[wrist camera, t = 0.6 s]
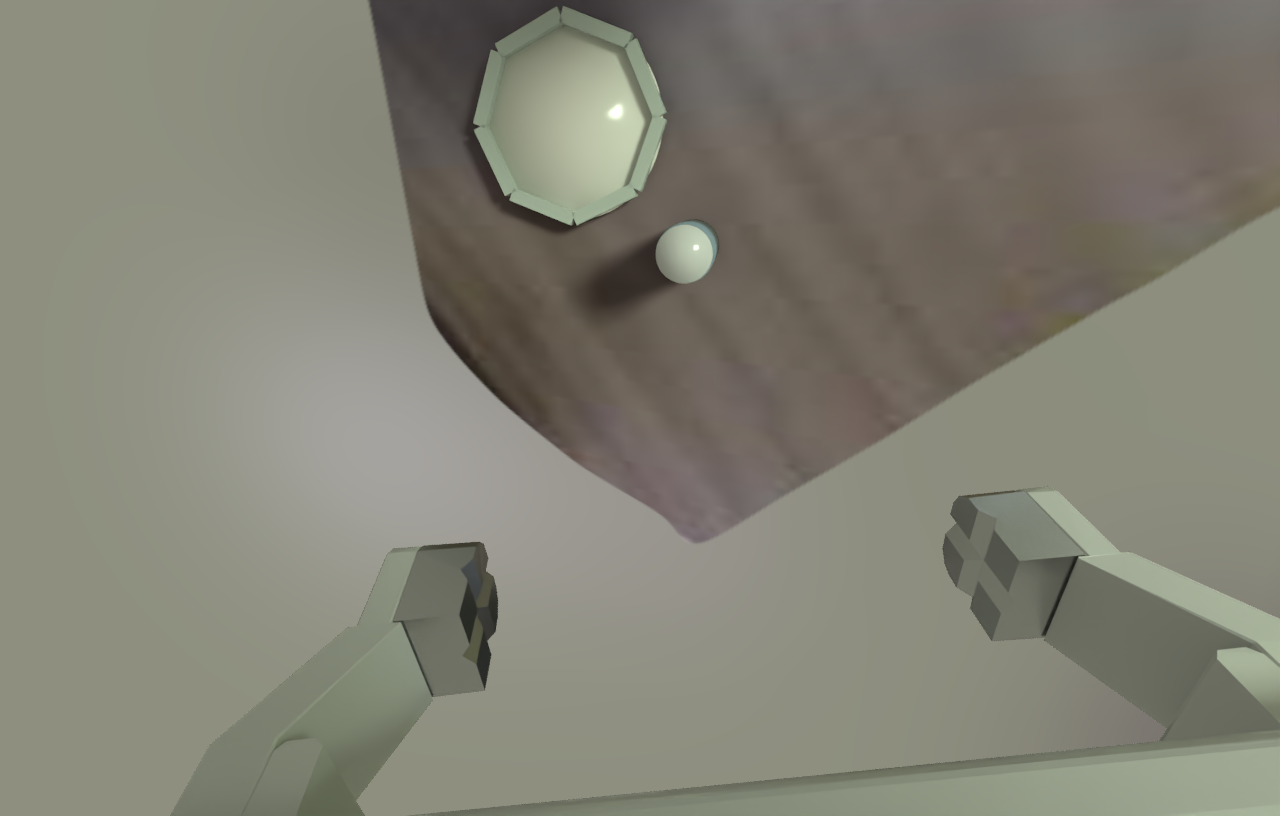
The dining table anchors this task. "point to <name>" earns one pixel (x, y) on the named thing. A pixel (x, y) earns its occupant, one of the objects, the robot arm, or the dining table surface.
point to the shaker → (687, 251)
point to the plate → (570, 116)
